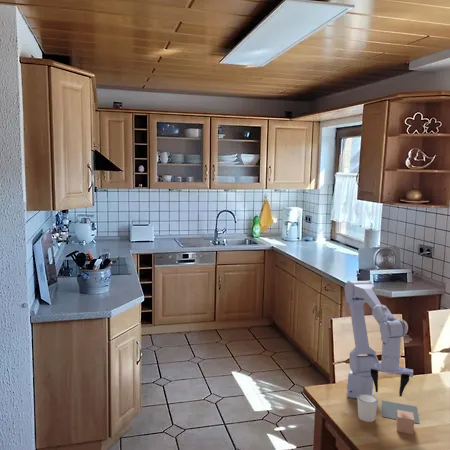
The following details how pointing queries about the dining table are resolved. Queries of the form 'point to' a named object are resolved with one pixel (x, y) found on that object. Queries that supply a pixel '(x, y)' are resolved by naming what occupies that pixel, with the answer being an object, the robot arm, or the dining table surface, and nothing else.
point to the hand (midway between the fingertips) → (388, 393)
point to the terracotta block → (405, 422)
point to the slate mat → (391, 409)
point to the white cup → (367, 407)
